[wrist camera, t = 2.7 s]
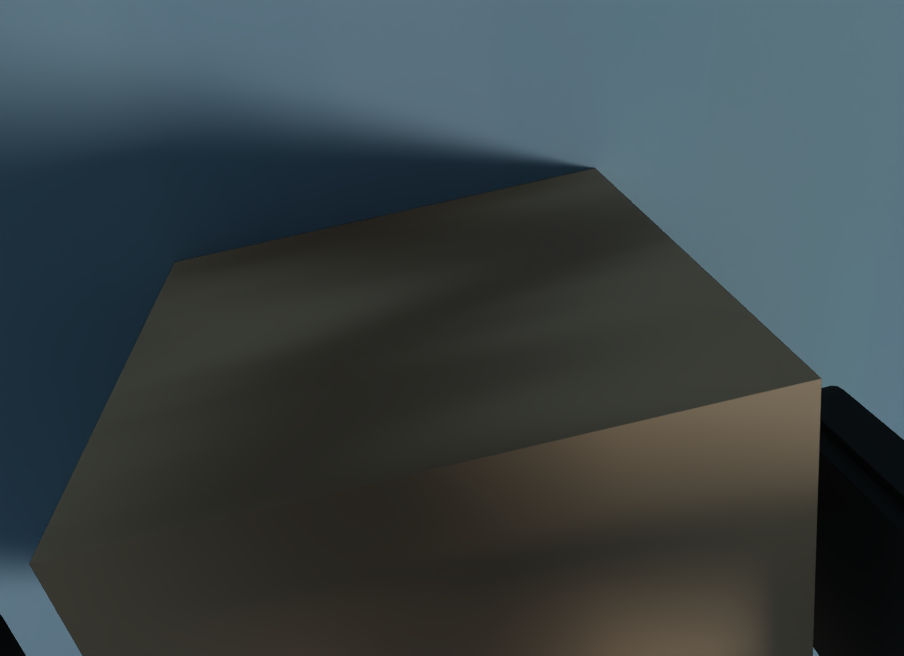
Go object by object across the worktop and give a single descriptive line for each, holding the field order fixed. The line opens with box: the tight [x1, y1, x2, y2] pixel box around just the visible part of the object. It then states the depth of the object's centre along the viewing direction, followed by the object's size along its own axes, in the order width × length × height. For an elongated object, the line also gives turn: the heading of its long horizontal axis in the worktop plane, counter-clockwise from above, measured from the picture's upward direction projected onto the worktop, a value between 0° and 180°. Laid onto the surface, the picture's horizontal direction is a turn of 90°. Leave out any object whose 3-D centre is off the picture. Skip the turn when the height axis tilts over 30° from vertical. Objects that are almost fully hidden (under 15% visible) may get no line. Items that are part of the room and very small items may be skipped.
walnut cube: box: [29, 168, 822, 656], centre depth 10 cm, size 6×6×6 cm
